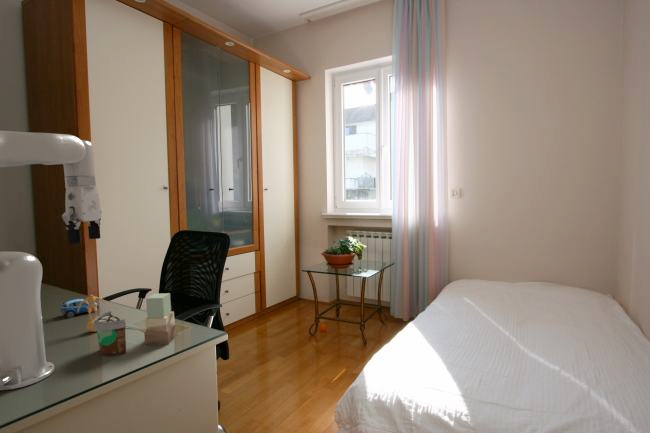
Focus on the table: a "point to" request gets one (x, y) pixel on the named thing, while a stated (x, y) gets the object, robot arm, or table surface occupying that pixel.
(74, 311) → the toy car
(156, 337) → the walnut block
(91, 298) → the figurine
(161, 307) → the green block
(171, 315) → the birch block
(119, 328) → the food container
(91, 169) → the robot arm
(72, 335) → the table surface
